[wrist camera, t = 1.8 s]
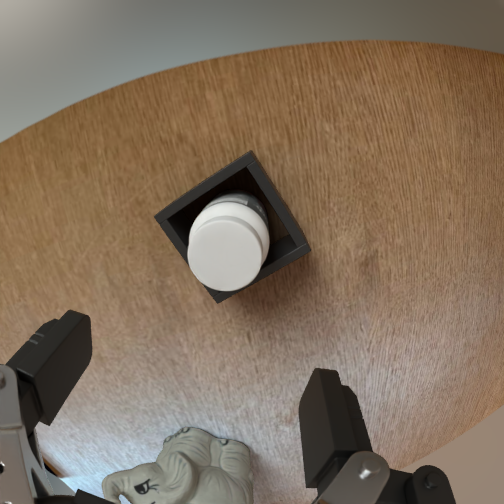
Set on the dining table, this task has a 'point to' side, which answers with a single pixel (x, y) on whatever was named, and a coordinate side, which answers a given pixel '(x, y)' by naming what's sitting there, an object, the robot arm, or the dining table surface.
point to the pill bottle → (229, 240)
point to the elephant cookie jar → (187, 473)
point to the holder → (295, 241)
